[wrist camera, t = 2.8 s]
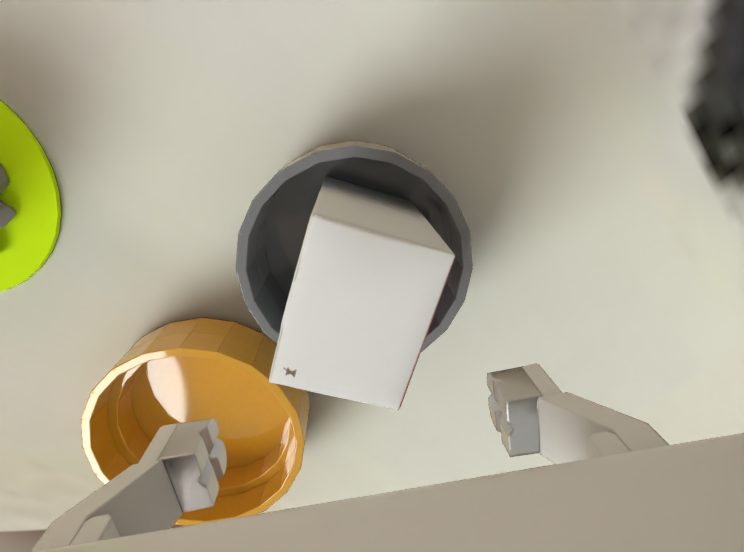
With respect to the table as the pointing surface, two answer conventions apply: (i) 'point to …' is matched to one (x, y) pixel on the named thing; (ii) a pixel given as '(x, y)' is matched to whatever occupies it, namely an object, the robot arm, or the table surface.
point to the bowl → (202, 411)
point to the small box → (361, 297)
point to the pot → (293, 210)
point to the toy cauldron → (24, 202)
